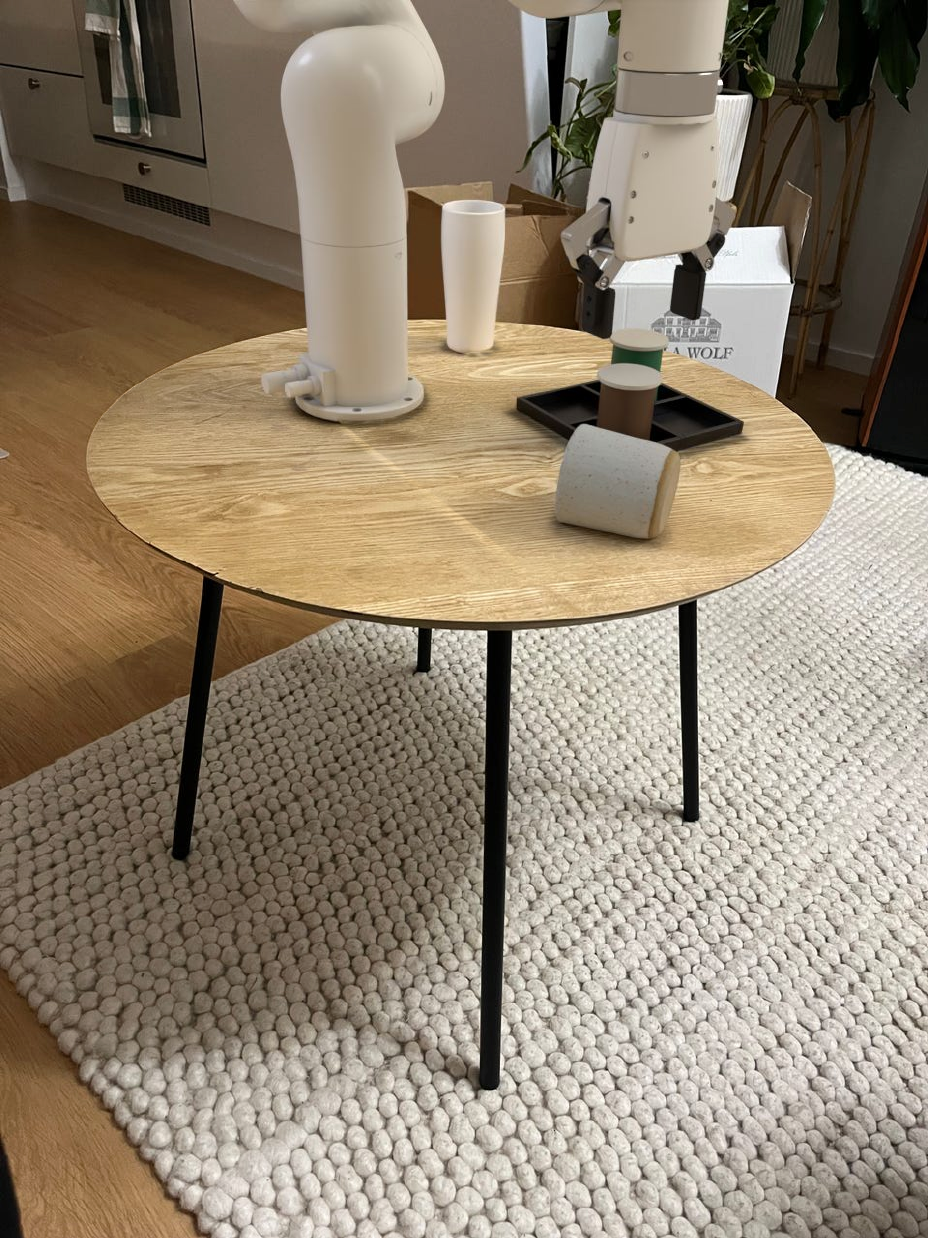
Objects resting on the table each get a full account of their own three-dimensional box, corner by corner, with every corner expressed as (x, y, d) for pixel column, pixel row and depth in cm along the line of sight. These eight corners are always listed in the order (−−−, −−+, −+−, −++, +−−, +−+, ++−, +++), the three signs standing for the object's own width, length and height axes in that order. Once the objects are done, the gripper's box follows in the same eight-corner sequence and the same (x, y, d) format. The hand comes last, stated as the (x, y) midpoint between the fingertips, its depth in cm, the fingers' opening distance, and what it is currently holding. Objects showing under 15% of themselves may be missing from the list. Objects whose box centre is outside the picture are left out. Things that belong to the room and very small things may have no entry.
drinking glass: (502, 339, 115) (508, 200, 106) (497, 359, 109) (504, 214, 101) (443, 336, 115) (445, 198, 107) (436, 355, 110) (437, 211, 101)
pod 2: (617, 460, 87) (626, 390, 83) (578, 437, 91) (584, 369, 87) (665, 447, 89) (676, 378, 86) (625, 425, 93) (633, 359, 90)
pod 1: (627, 416, 95) (635, 350, 92) (591, 397, 99) (597, 333, 96) (671, 405, 98) (681, 341, 94) (634, 387, 102) (642, 324, 98)
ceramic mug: (655, 559, 74) (670, 463, 69) (549, 538, 76) (557, 443, 72) (682, 501, 82) (696, 412, 78) (585, 483, 84) (594, 396, 80)
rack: (615, 473, 86) (617, 455, 85) (515, 413, 96) (516, 397, 95) (741, 438, 93) (744, 421, 92) (635, 386, 103) (637, 370, 102)
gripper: (714, 86, 81) (687, 299, 90) (541, 98, 73) (531, 330, 83) (784, 95, 76) (747, 320, 85) (606, 109, 68) (588, 355, 77)
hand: (641, 325), depth 84 cm, fingers open, 9 cm apart
